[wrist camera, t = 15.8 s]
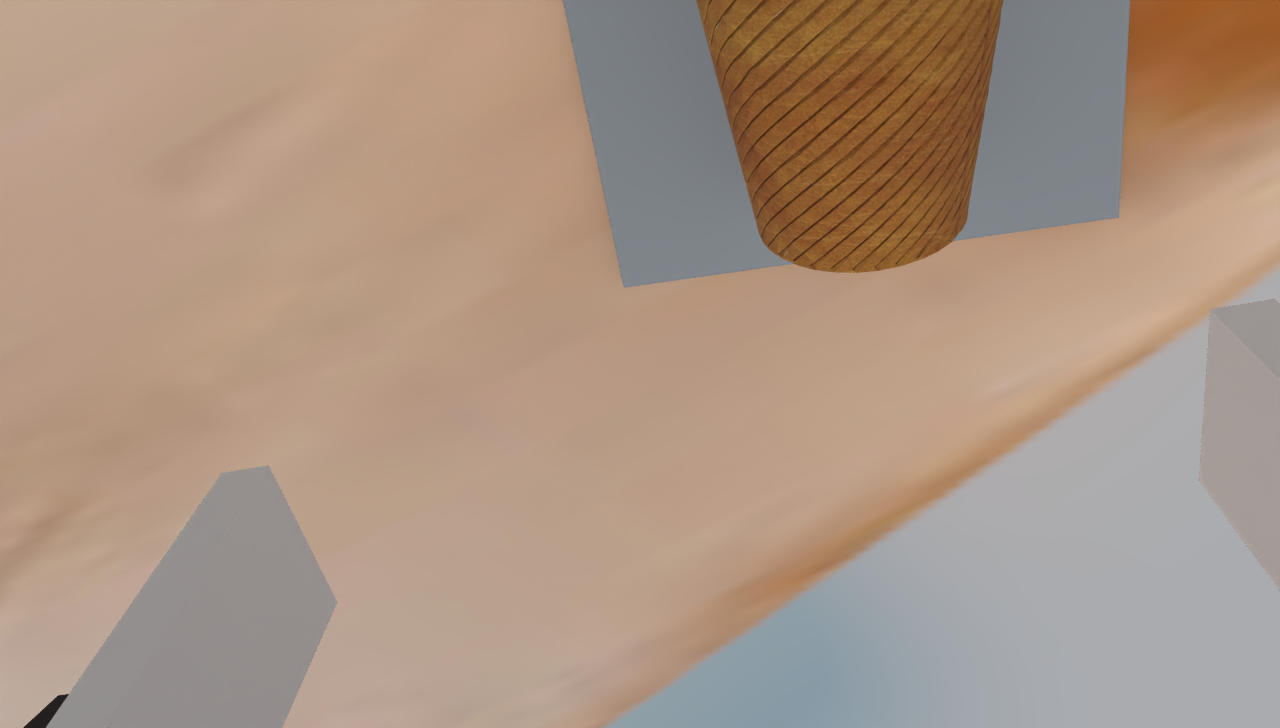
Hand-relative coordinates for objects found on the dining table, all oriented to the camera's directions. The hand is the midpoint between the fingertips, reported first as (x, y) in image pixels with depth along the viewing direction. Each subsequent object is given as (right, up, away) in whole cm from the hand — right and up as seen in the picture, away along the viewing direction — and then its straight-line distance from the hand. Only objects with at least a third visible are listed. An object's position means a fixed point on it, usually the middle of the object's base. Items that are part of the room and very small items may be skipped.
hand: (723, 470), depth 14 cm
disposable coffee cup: (+6, +6, +17) cm, 18 cm away
